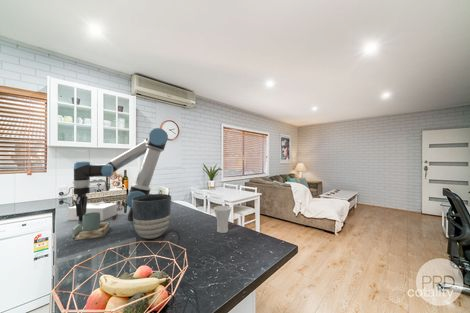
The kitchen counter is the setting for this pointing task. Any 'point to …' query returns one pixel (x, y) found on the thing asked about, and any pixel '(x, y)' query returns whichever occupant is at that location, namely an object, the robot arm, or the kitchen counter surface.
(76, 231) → the gate
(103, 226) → the tray
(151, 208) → the planter
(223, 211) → the cup
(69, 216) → the tissue box
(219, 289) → the kitchen counter surface
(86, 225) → the cup
